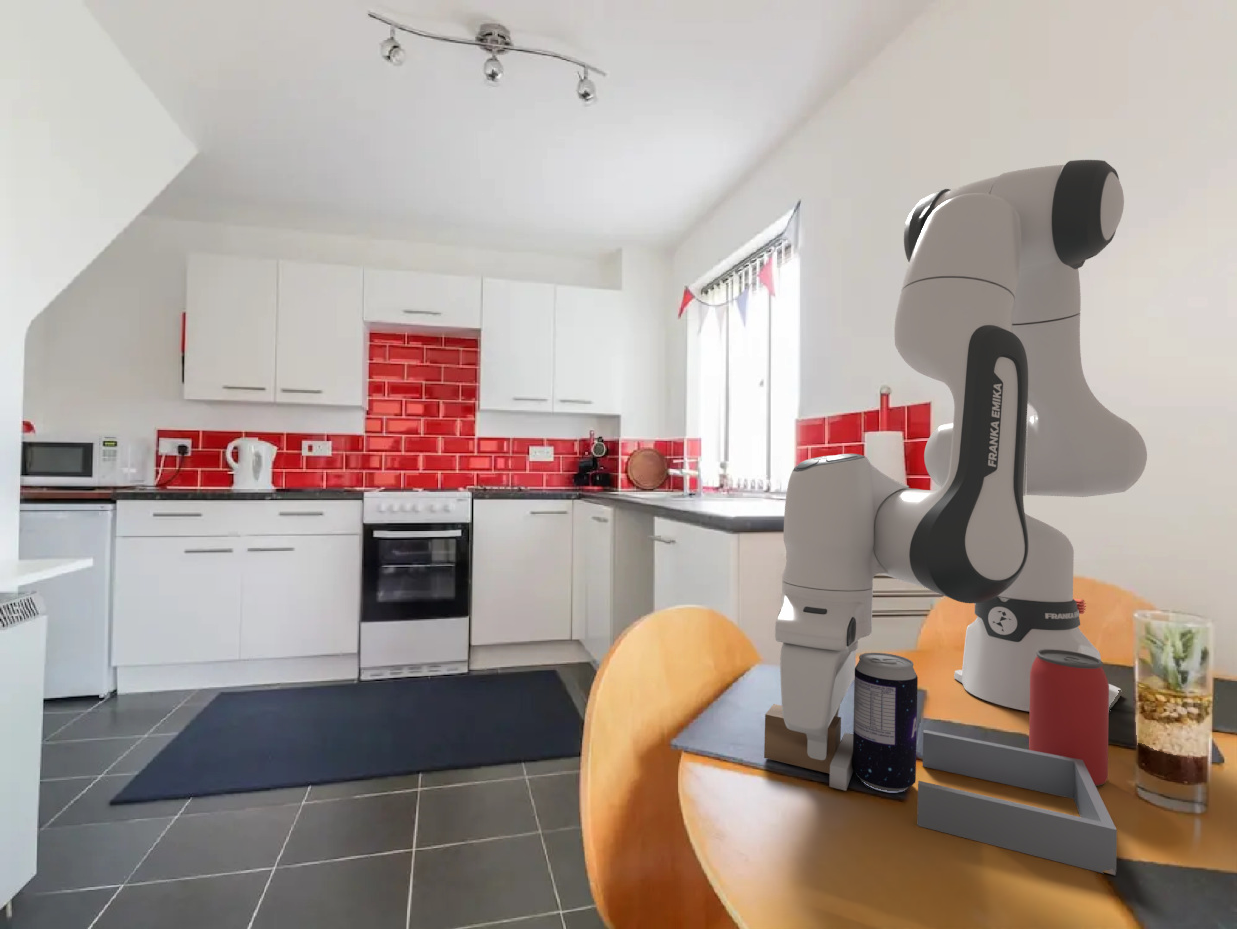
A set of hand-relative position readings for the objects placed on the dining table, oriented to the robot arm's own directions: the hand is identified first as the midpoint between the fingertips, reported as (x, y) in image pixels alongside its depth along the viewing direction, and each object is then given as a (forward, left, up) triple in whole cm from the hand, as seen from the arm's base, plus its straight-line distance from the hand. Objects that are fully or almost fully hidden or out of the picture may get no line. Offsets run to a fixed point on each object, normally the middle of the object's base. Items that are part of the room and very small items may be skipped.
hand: (822, 747), depth 64 cm
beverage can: (-3, +5, -2) cm, 6 cm away
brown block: (+1, -2, -2) cm, 3 cm away
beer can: (-21, +13, -2) cm, 25 cm away
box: (-8, +14, -2) cm, 16 cm away
